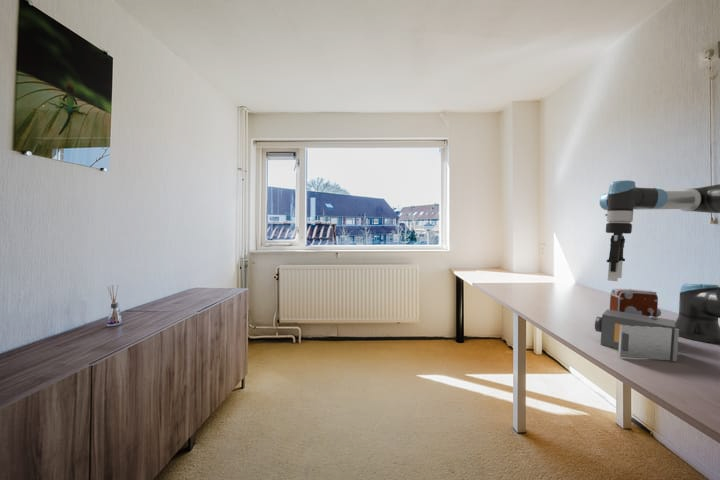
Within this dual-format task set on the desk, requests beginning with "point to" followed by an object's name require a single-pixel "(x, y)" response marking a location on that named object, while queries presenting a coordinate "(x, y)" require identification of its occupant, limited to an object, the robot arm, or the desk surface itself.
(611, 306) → the cine camera
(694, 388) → the desk surface
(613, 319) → the grey cabinet with knob
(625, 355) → the side door
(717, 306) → the robot arm
